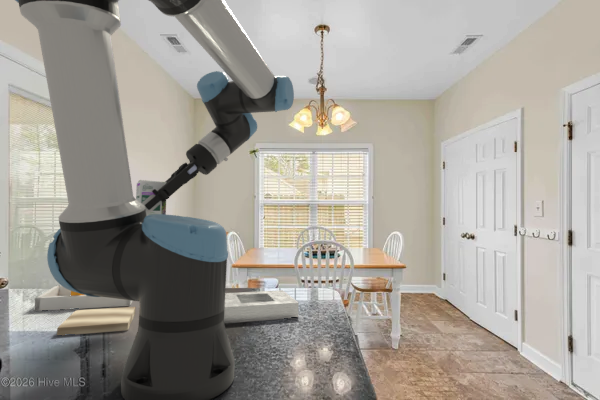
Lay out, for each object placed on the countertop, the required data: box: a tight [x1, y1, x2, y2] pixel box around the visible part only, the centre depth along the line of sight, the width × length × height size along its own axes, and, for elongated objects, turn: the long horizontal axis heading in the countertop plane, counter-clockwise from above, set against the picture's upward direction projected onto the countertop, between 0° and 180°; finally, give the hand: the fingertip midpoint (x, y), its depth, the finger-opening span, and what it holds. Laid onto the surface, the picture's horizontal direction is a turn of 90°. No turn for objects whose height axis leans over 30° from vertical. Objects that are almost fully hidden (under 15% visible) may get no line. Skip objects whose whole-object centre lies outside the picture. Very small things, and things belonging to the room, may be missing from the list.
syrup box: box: [135, 179, 167, 216], centre depth 78 cm, size 6×6×14 cm
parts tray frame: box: [33, 284, 133, 312], centre depth 88 cm, size 14×20×3 cm
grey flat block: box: [224, 289, 300, 325], centre depth 82 cm, size 13×18×4 cm
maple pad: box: [56, 306, 136, 336], centre depth 71 cm, size 12×12×2 cm
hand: (132, 217), depth 76 cm, fingers closed on syrup box, 6 cm apart
